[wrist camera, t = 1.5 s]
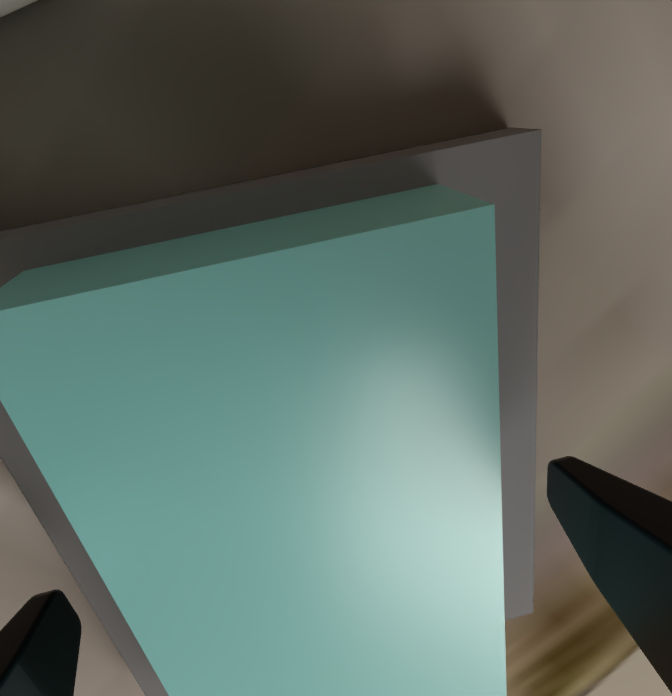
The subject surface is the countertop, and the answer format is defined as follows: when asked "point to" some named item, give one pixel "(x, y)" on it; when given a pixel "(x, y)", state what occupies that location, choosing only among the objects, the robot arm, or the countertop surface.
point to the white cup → (12, 5)
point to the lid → (282, 444)
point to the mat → (300, 196)
